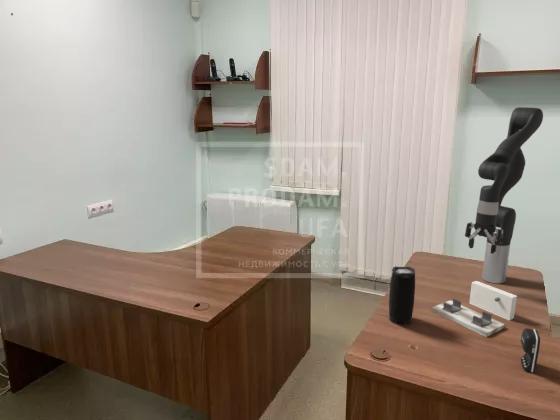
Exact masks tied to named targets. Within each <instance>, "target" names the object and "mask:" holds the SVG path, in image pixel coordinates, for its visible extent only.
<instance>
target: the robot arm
mask: <svg viewBox="0 0 560 420" xmlns="http://www.w3.org/2000/svg"><path fill="white" fill-rule="evenodd" d="M543 118H544V113H543V110H542V109H541V108H539V107H526V106H525V107H524V106H521V107H520V106H519V107H516V108H514V109H513V111H512V113H511V115H510V118H509V123H508V130H507V136H506V138H505V139H503V140H502V141H501V143H500V144H499V145H498V146H497V148H496V149H495V151H494V152H493V153H491V155H489V156H488V157H487V158H485V159H484V160H483V161H482V162H481V163H480V165H479V167H478V170H477V171H478V172H477V174H478V176H479V178H481V180H482V179H483V180H487V181H488V180H489V181H493V183H492V184H491V185H490V184H489V185H482V187H481V189H480V193H479V199H478V204H477V208H476V215H475V223H473V222H472V221H471V222H467V224H466V228H465V234H464V237H466V238H468V240H469V241H468V247H469V249H473V248H474V246H475V238H476V237H477V236H479V237H484V238H486V243H485V244H486V245H485V250H484V251H485V253H484V261H483V267H482V268H483V269H482V276H481V278H482V280H484V281H486V282H488V283H493V284H503V283H505V282H506V280H507V273H508V267H509V257H510V249H511V248H510V247H511V241H512V239H513V234H514V229H515V223H516V218H517V213H516V210H515V209H514V208H512V207H507V206H503V205H502V202H503V200H504V198H505V196H506V195H507V193H509V191H510V190H511V189H513V188H514V187H515V186H516V185H517V184H518V183H519V182H520V181H521V180H522V177H523V173H524V170H525V166H526V158H525V155H524V152H523V150H522V146H523V145H524V144H525V143H526V142H527V141H528V140H529V139H530V138H531V137H532V136H533V135H534V134H535V133H536V131H537V130H539V128H540V126H541V125H542V123H543V120H544V119H543ZM473 228H474V232H472V229H473Z"/></svg>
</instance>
